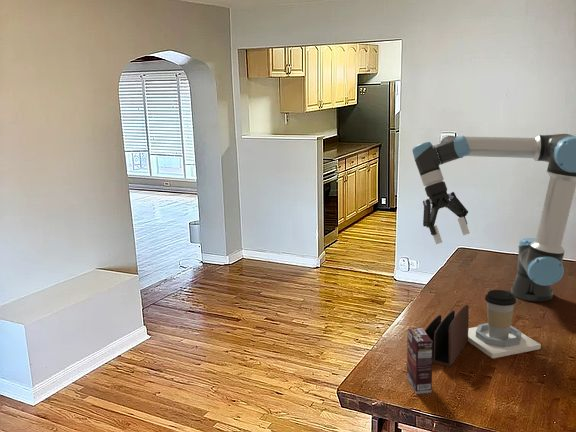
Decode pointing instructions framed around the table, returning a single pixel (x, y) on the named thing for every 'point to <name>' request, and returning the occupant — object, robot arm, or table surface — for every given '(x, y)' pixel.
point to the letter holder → (448, 336)
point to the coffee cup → (499, 313)
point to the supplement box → (419, 360)
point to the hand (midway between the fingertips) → (453, 238)
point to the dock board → (501, 350)
